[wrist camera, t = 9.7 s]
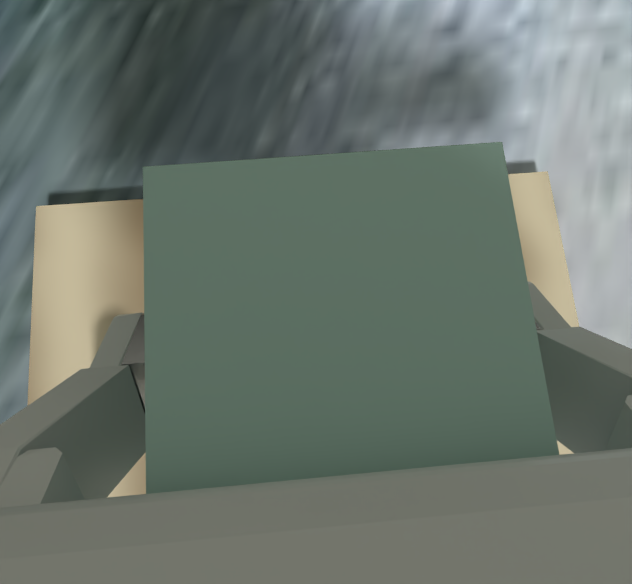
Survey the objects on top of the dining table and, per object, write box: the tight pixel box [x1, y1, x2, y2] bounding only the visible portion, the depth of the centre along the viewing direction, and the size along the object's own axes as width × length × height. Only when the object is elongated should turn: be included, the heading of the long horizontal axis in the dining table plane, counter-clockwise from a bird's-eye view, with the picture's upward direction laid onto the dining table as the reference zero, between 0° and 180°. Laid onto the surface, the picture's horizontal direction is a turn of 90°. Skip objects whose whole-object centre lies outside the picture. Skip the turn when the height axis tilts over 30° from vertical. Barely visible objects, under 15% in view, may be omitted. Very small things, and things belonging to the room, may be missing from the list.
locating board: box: [28, 172, 579, 498], centre depth 20 cm, size 24×18×4 cm
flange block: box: [143, 142, 559, 494], centre depth 10 cm, size 8×8×8 cm
